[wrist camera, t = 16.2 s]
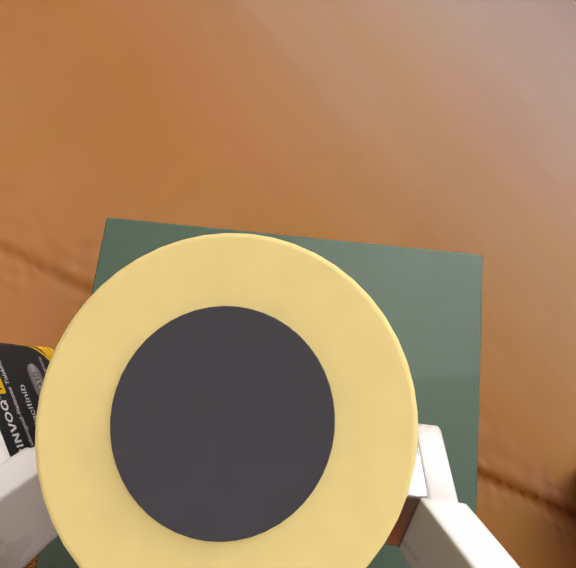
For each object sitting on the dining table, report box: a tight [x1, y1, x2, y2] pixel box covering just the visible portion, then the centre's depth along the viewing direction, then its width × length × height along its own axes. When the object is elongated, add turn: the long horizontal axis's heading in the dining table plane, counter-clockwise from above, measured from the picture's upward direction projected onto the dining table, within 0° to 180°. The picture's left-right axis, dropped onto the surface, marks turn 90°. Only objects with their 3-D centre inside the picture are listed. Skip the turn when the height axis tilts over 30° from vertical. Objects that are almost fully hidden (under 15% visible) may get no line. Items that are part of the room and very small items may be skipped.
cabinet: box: [36, 218, 483, 568], centre depth 19 cm, size 16×15×9 cm
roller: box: [35, 233, 418, 568], centre depth 10 cm, size 5×5×10 cm
